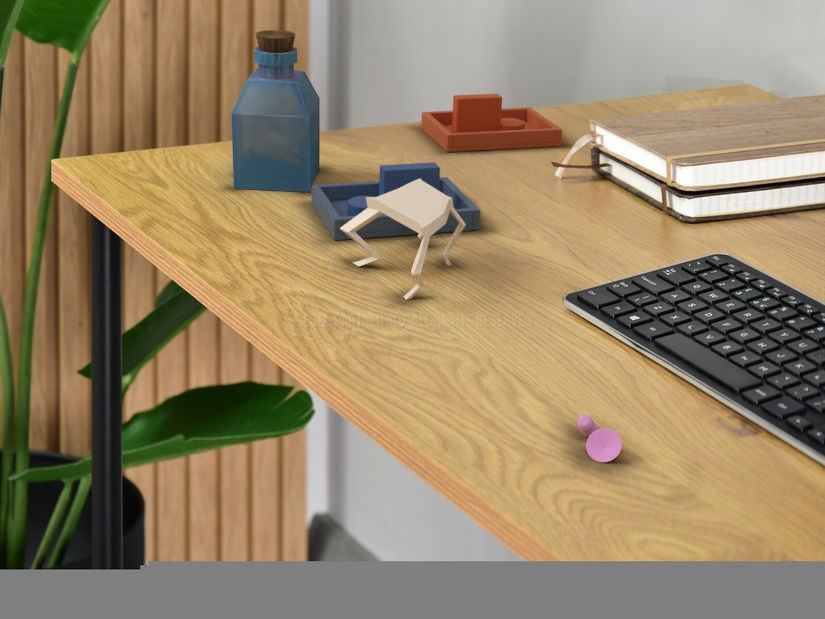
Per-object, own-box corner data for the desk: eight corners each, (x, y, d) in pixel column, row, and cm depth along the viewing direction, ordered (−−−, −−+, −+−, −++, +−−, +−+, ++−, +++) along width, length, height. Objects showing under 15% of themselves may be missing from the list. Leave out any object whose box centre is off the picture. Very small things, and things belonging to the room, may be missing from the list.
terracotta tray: (529, 123, 119) (530, 107, 119) (561, 146, 112) (562, 129, 111) (421, 128, 116) (421, 111, 116) (446, 152, 109) (447, 135, 108)
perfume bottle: (319, 169, 103) (319, 28, 98) (309, 192, 97) (308, 43, 93) (248, 165, 103) (244, 25, 99) (233, 188, 98) (229, 40, 93)
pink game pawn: (606, 479, 62) (634, 457, 62) (600, 469, 60) (629, 447, 60) (571, 436, 63) (598, 415, 63) (565, 425, 62) (593, 404, 62)
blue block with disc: (430, 203, 95) (432, 159, 93) (441, 215, 92) (443, 170, 91) (343, 209, 93) (344, 164, 91) (352, 221, 90) (352, 175, 89)
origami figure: (329, 246, 86) (330, 181, 84) (440, 238, 89) (443, 174, 87) (372, 313, 76) (374, 240, 74) (497, 301, 78) (502, 230, 76)
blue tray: (446, 195, 98) (447, 176, 97) (479, 230, 91) (480, 209, 90) (311, 204, 95) (311, 184, 94) (334, 240, 88) (334, 219, 87)
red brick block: (458, 138, 112) (460, 100, 110) (449, 130, 114) (450, 93, 113) (528, 135, 114) (531, 97, 112) (518, 127, 116) (520, 90, 115)
